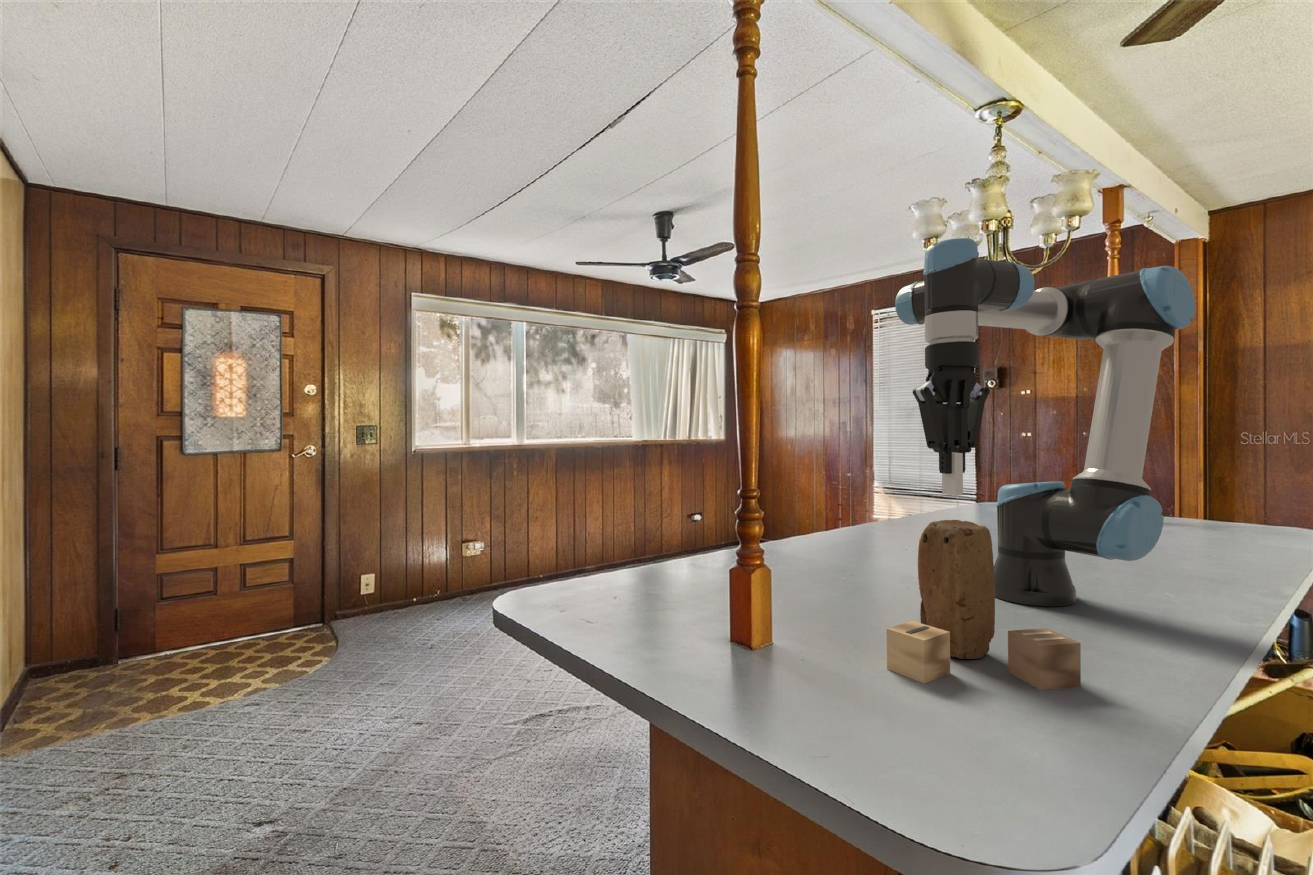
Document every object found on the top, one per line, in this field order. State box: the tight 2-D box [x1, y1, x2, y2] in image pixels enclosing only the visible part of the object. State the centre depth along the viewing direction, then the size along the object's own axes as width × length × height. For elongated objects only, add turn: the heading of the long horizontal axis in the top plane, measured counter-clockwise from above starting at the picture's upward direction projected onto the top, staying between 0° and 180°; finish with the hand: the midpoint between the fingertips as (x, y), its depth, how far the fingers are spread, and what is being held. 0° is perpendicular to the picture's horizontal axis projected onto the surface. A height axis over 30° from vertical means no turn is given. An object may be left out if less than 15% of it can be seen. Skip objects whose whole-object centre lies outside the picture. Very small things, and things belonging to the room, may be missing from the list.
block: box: [917, 519, 996, 660], centre depth 96 cm, size 11×8×20 cm
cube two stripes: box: [1007, 627, 1082, 691], centre depth 84 cm, size 6×6×6 cm
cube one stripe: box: [886, 620, 951, 684], centre depth 88 cm, size 6×6×6 cm
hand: (952, 494), depth 95 cm, fingers closed
